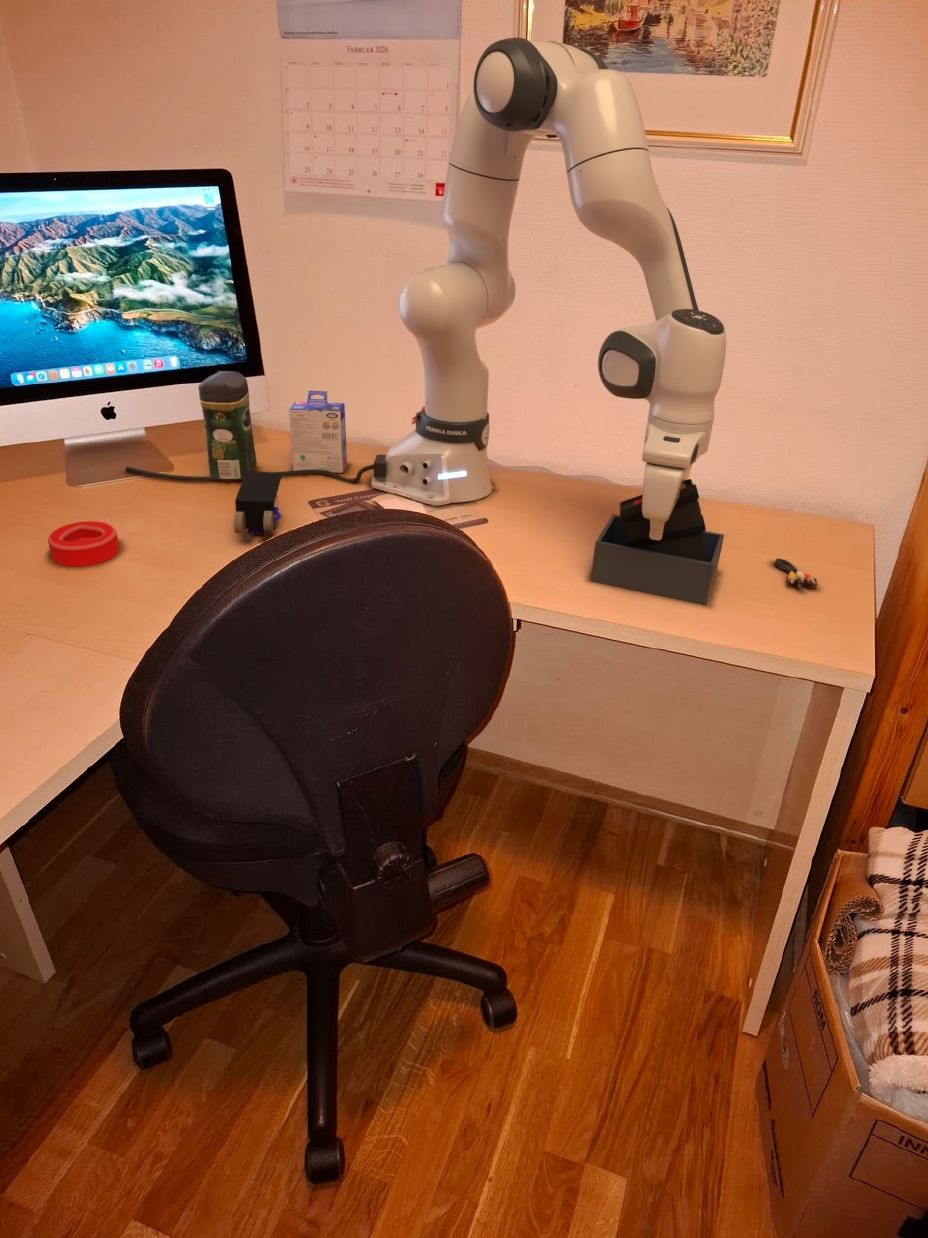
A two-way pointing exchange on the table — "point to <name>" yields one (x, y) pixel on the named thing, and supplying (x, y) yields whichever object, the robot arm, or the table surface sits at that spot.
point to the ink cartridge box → (318, 434)
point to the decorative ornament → (83, 543)
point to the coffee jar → (228, 425)
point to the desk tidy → (654, 566)
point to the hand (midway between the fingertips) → (661, 525)
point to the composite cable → (796, 575)
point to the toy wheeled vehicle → (257, 504)
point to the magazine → (668, 526)
